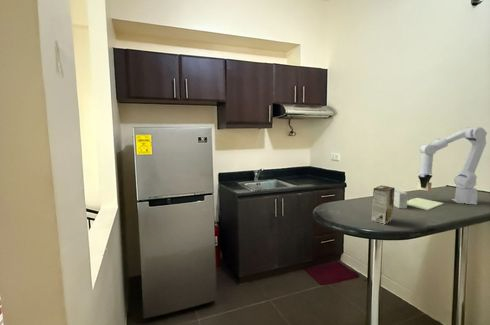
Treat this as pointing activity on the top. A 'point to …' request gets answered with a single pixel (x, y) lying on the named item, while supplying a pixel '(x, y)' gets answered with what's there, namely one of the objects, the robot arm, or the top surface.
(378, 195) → the coffee box
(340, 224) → the top surface
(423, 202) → the sage mat
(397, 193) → the medicine box
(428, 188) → the card deck
